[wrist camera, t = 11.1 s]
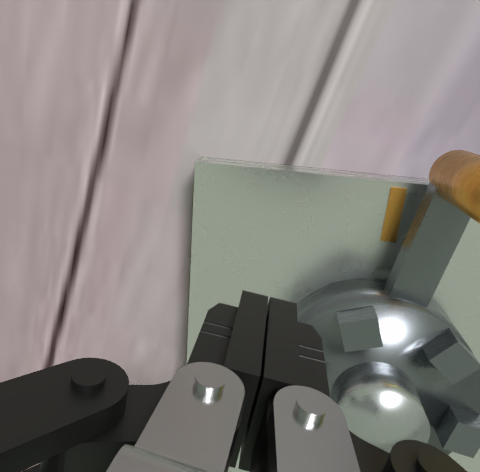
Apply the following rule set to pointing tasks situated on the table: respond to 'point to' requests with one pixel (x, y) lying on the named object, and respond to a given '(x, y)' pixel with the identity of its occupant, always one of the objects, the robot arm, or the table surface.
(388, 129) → the table surface
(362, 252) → the base plate
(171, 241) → the table surface
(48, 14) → the table surface
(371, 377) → the chuck with crank handle
